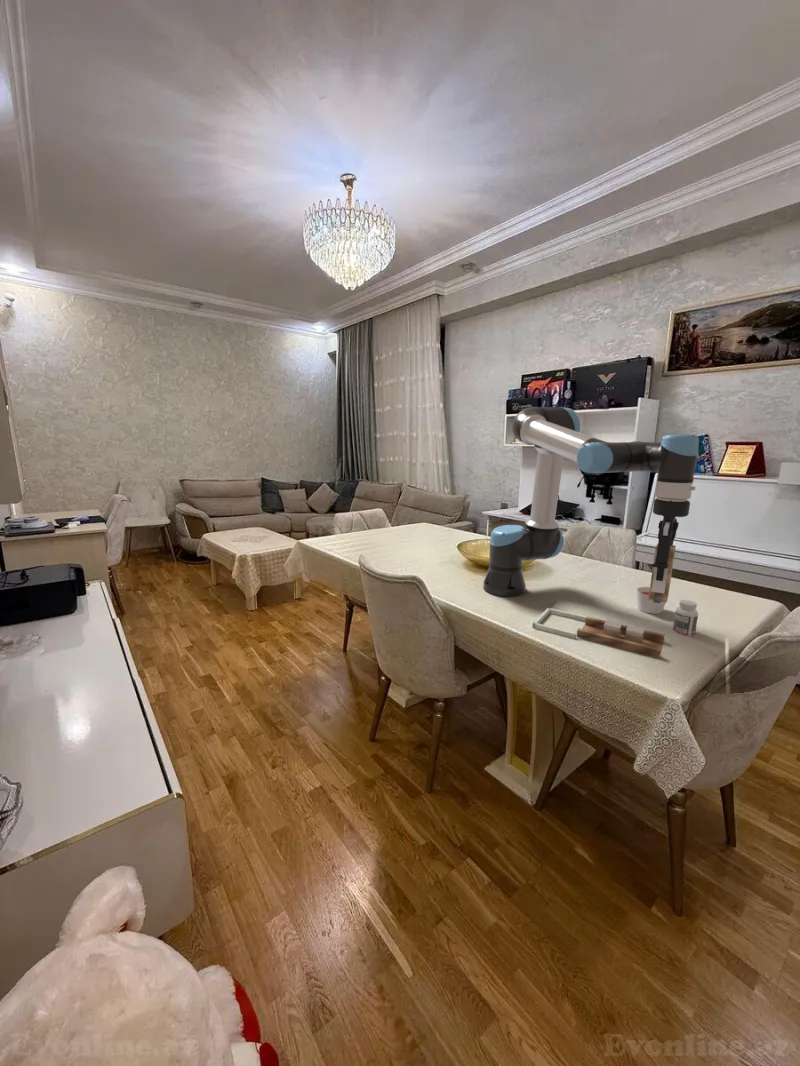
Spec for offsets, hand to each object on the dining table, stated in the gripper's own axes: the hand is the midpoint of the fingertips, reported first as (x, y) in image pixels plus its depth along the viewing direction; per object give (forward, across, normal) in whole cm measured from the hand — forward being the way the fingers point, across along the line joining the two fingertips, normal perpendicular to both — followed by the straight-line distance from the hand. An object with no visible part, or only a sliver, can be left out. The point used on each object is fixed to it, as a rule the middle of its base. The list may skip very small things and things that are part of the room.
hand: (659, 587), depth 110 cm
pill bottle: (+18, +16, -6) cm, 25 cm away
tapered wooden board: (+3, 0, 0) cm, 3 cm away
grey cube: (+17, 0, +10) cm, 19 cm away
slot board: (+18, 0, +8) cm, 19 cm away
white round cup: (+18, +30, +4) cm, 35 cm away
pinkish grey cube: (+17, 0, +4) cm, 17 cm away
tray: (+18, 0, +24) cm, 30 cm away
